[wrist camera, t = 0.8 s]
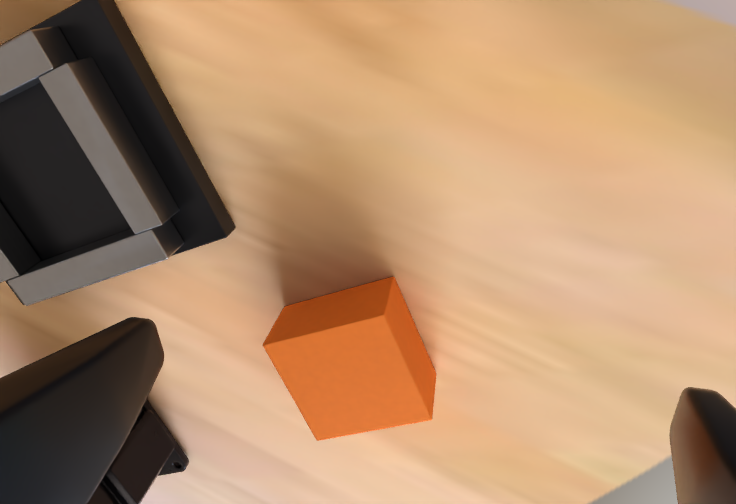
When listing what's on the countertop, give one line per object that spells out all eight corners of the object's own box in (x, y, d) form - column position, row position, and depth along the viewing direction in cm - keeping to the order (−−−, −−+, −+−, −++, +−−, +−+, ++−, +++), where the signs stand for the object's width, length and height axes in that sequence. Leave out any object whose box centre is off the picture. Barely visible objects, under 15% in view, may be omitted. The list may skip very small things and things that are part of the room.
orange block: (331, 396, 27) (316, 441, 25) (283, 306, 25) (261, 344, 23) (436, 374, 26) (432, 420, 23) (394, 275, 24) (383, 313, 21)
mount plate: (37, 295, 28) (-1, 323, 26) (-100, 106, 24) (-157, 121, 22) (236, 227, 24) (212, 253, 22) (109, -9, 20) (65, -5, 18)
